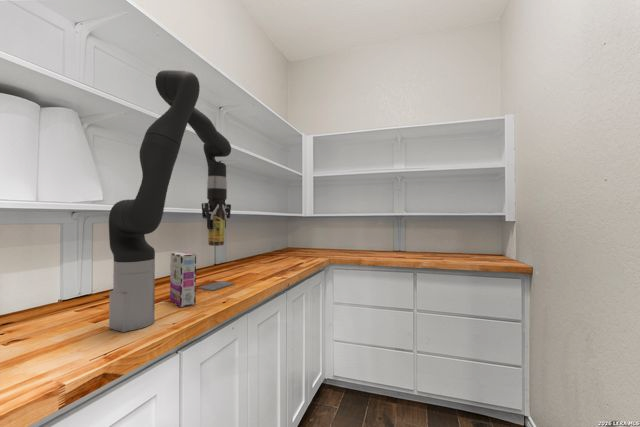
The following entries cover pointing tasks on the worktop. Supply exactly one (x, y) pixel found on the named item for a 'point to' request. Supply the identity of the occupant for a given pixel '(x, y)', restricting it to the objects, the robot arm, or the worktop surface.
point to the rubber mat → (216, 286)
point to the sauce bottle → (217, 226)
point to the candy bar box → (183, 279)
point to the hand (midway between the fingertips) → (216, 228)
